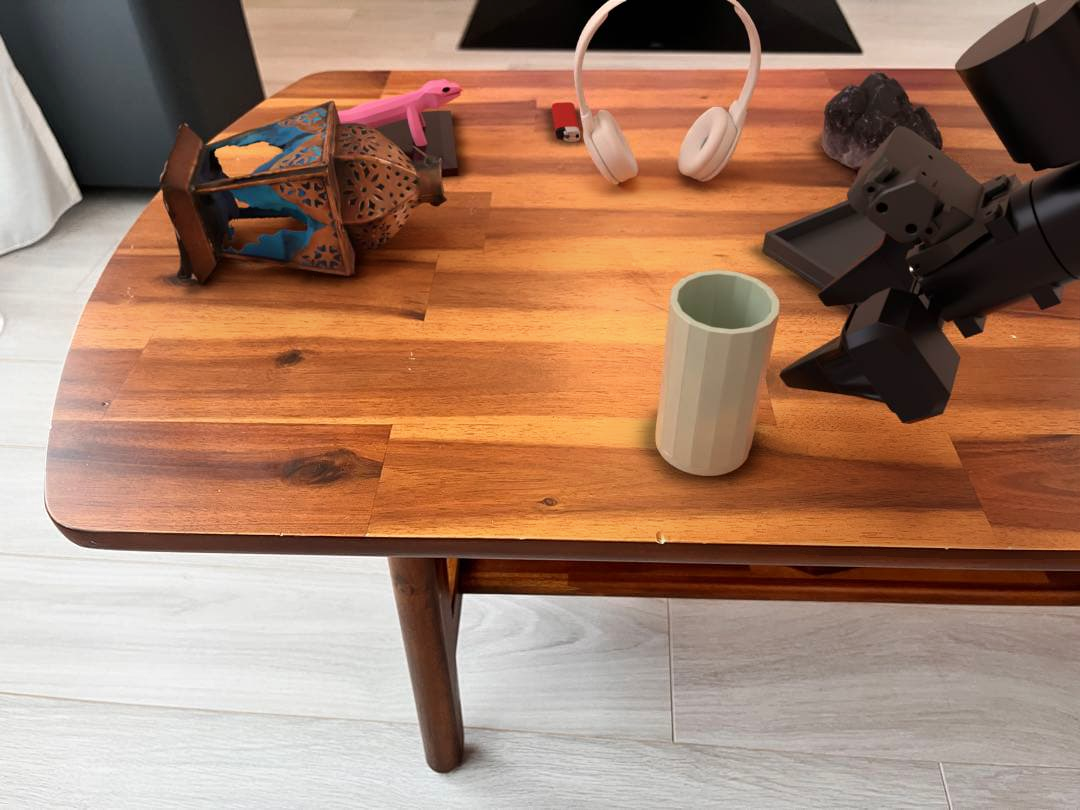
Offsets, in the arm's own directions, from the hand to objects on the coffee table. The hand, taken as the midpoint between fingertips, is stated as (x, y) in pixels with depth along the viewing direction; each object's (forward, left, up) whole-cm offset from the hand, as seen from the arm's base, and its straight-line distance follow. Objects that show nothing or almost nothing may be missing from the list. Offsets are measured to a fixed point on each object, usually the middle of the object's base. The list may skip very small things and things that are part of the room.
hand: (803, 337), depth 57 cm
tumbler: (+5, +3, -12) cm, 13 cm away
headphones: (+38, -20, -12) cm, 45 cm away
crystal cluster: (+29, -44, -12) cm, 54 cm away
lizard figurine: (+61, +2, -12) cm, 63 cm away
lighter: (+54, -19, -12) cm, 59 cm away
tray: (+13, -27, -12) cm, 33 cm away
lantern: (+45, +16, -12) cm, 50 cm away
